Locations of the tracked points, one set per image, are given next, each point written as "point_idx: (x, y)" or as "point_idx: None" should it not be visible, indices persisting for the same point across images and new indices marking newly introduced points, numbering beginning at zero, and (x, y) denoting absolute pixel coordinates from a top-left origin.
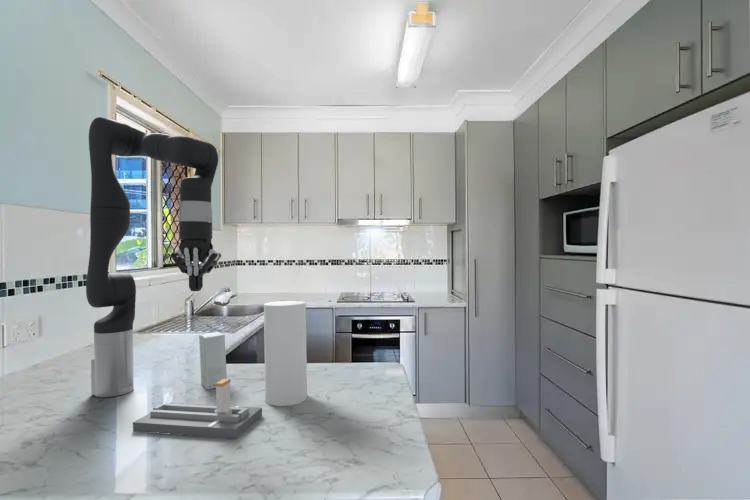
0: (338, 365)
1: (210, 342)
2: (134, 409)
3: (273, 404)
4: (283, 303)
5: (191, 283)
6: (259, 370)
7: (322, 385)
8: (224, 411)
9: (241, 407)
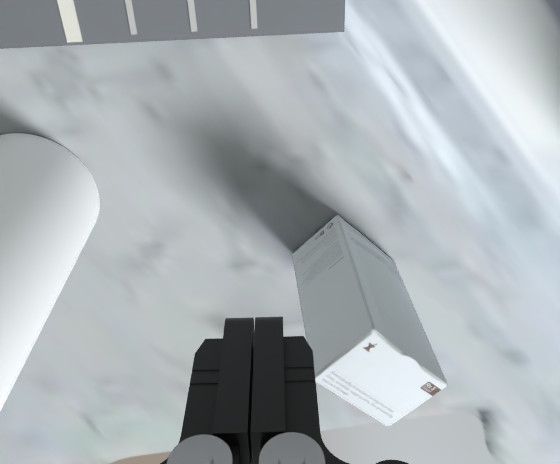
0: (74, 451)
1: (350, 327)
2: (477, 11)
3: (28, 135)
4: None
5: (271, 365)
6: None
7: None
8: None
9: (55, 36)
